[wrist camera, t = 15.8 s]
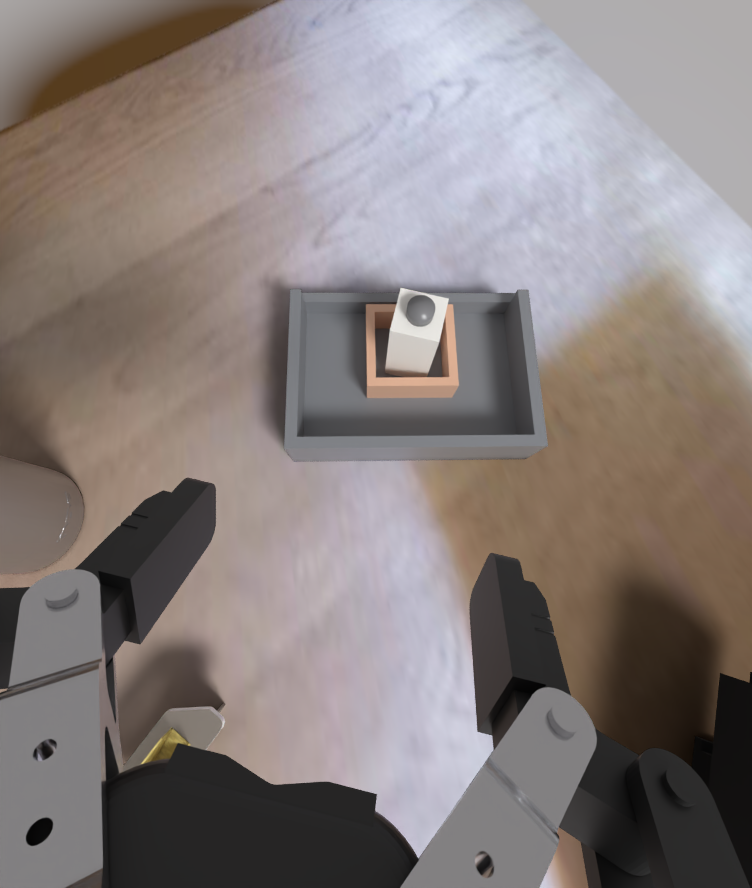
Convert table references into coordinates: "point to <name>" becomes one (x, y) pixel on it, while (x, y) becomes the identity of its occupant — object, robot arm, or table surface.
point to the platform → (178, 733)
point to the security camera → (731, 765)
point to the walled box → (412, 382)
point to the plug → (415, 333)
